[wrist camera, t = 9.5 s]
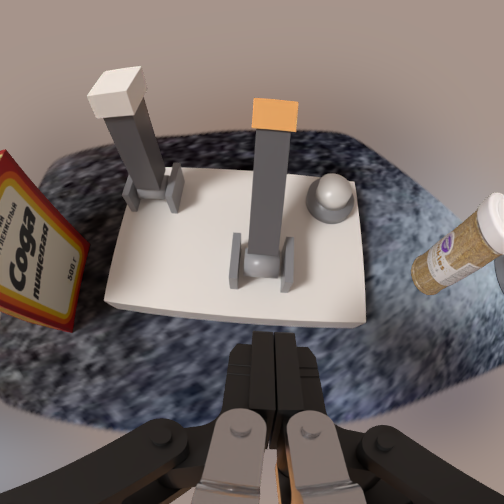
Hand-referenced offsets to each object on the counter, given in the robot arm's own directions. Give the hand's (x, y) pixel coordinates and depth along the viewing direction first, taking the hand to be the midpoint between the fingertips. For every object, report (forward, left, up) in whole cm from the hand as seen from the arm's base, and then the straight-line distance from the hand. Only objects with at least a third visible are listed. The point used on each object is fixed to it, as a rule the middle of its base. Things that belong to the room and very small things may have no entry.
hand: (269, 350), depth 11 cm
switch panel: (+2, -10, -15) cm, 18 cm away
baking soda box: (+21, -5, -15) cm, 26 cm away
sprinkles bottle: (-18, -9, -15) cm, 25 cm away
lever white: (+10, -14, -11) cm, 21 cm away
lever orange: (0, -7, -11) cm, 13 cm away
